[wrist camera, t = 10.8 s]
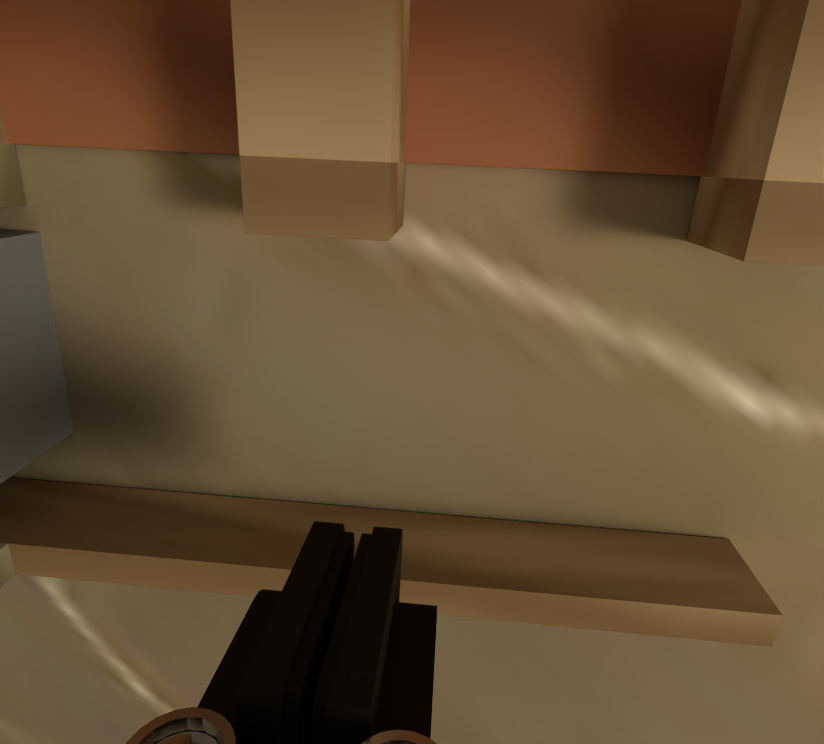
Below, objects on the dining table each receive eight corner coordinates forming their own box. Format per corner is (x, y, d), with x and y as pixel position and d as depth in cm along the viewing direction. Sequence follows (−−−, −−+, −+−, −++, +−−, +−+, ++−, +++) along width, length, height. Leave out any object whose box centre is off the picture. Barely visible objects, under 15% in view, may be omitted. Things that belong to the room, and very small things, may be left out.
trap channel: (720, 566, 17) (784, 666, 14) (-91, 494, 19) (-213, 568, 15) (947, -209, 11) (1171, -379, 7) (-317, -217, 12) (-611, -360, 9)
